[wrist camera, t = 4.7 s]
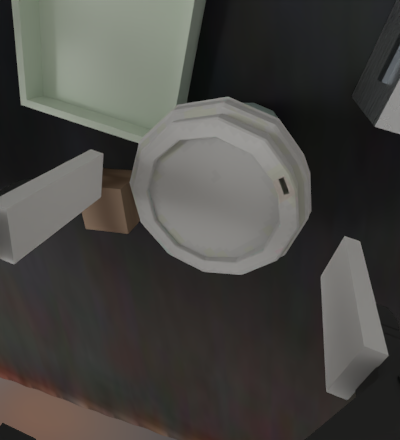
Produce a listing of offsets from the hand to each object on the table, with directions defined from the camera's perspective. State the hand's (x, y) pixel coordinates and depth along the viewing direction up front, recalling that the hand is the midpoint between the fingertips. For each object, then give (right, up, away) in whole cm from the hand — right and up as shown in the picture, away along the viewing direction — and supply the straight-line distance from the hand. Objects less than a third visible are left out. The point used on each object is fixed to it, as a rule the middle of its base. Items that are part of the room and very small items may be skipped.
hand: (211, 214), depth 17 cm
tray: (-8, +16, +11) cm, 21 cm away
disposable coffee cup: (+4, +8, +13) cm, 15 cm away
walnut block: (-9, +3, +19) cm, 22 cm away
